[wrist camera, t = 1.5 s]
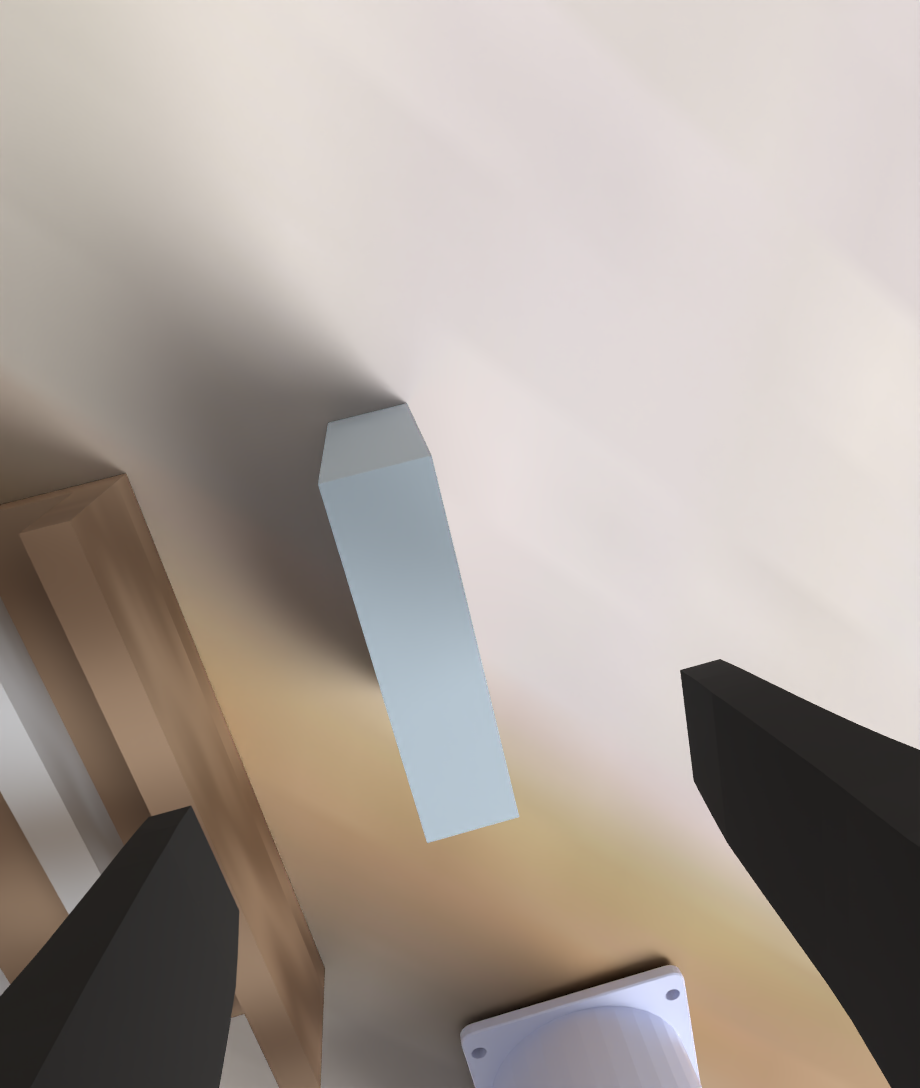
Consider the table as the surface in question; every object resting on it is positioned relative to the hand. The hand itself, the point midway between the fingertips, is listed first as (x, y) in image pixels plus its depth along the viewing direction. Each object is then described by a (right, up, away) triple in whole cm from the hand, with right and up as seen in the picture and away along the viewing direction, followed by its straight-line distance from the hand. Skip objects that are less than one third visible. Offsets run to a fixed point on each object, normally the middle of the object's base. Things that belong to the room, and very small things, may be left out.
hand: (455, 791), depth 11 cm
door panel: (-1, +3, +9) cm, 10 cm away
